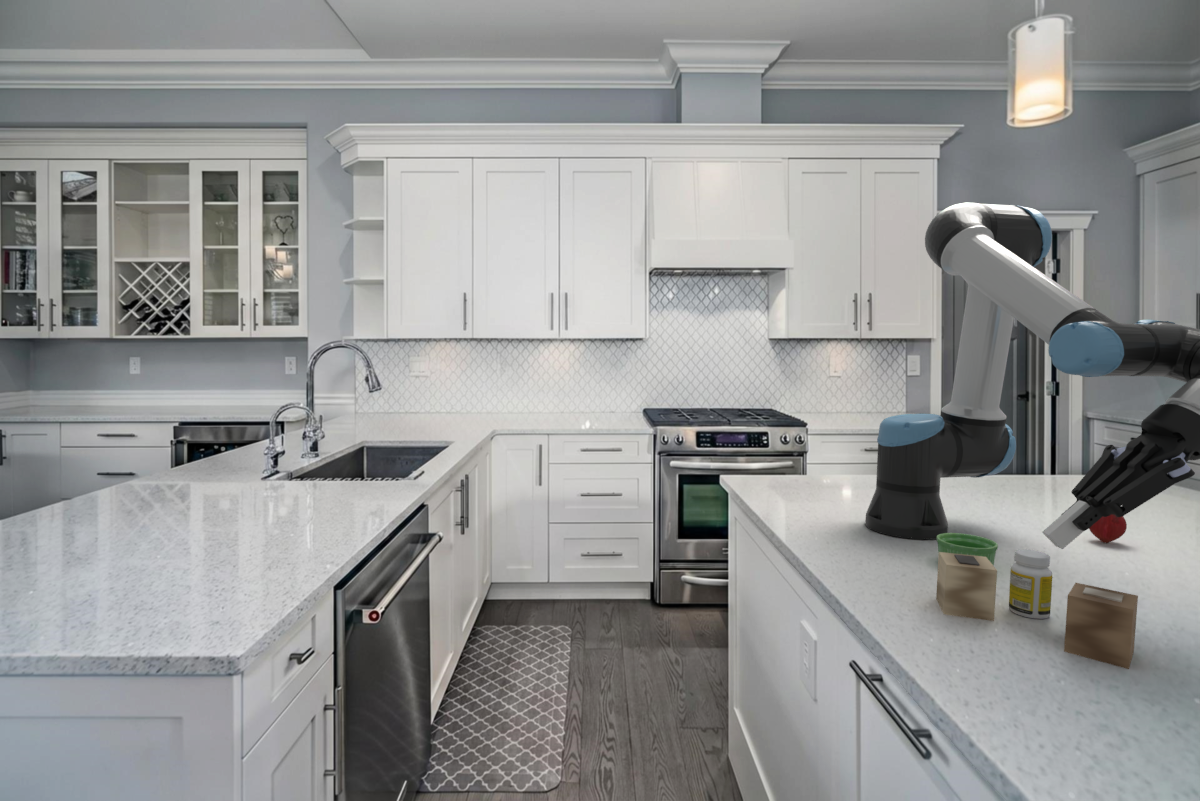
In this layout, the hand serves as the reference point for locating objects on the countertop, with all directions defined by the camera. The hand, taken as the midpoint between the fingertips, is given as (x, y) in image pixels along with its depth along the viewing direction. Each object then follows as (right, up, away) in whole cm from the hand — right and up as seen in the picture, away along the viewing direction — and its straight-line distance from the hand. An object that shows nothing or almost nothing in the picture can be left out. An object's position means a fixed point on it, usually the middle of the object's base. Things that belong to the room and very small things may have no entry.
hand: (1052, 540), depth 86 cm
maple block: (-11, -10, +2) cm, 15 cm away
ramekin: (0, -9, +21) cm, 23 cm away
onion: (+35, -8, +35) cm, 50 cm away
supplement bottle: (-3, -10, +1) cm, 11 cm away
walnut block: (-2, -11, -10) cm, 15 cm away
